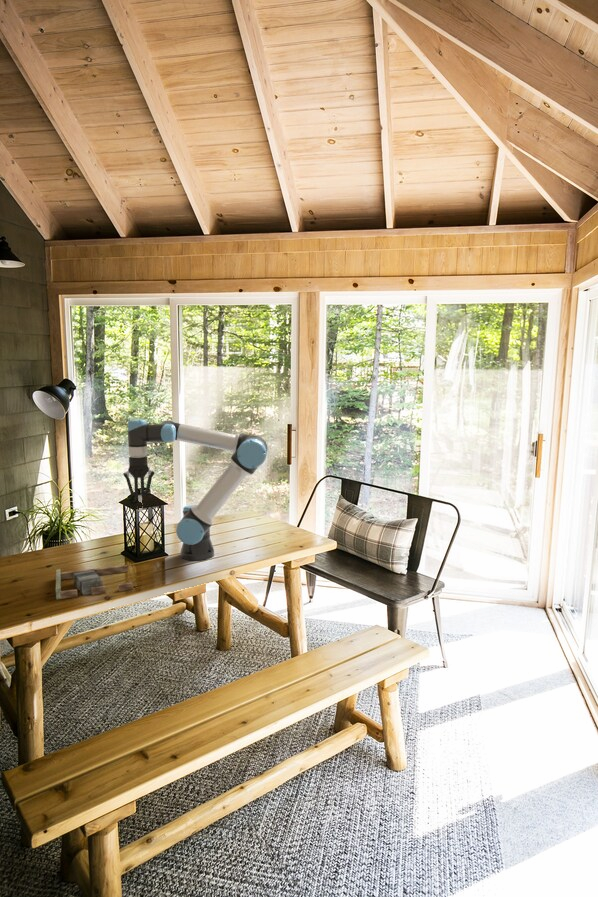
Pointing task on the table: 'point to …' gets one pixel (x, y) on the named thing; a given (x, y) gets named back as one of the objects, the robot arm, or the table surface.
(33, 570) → the table surface
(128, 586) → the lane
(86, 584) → the stone block
